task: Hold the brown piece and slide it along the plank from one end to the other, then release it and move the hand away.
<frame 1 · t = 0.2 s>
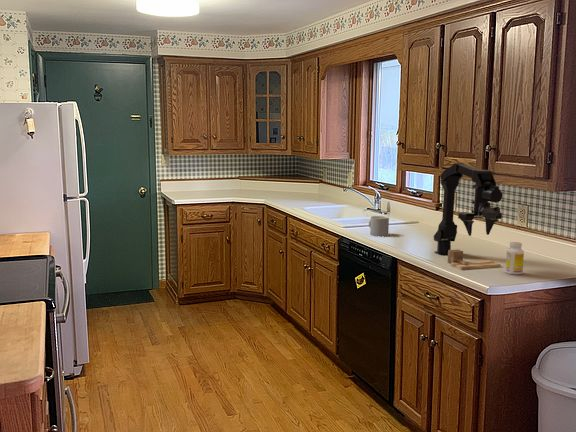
hand: (478, 235, 257), 14 cm above the worktop, tool pointing down, fingers open, 9 cm apart
plank: (475, 266, 260), on the worktop
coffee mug: (377, 234, 333), on the worktop
brown piece: (455, 263, 264), on the worktop
supplement bottle: (513, 273, 248), on the worktop
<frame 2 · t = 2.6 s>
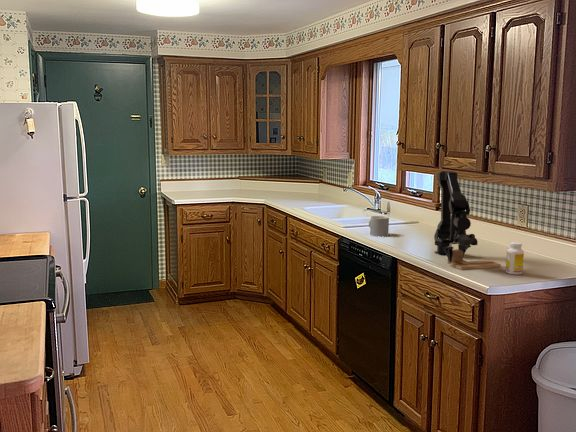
hand: (455, 261, 264), 1 cm above the worktop, tool pointing down, fingers closed on brown piece, 5 cm apart
brown piece: (455, 263, 264), on the worktop, touching gripper
everything else where it was.
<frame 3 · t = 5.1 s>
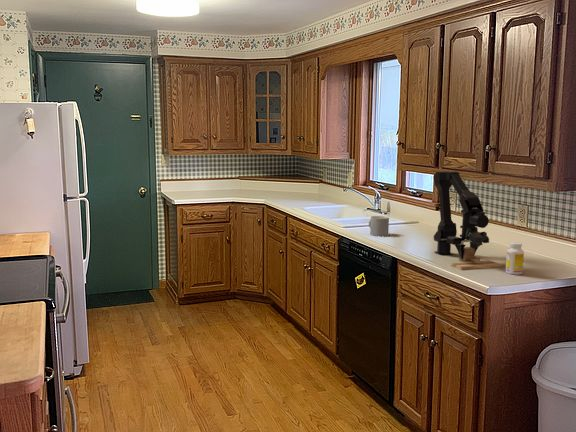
hand: (466, 258, 266), 2 cm above the worktop, tool pointing down, fingers closed on brown piece, 5 cm apart
brown piece: (466, 261, 266), point 1 cm above the worktop, touching gripper
everything else where it was.
when the fingers open (1 cm above the worktop, at t = 7.7 s): brown piece stays where it is, on the worktop.
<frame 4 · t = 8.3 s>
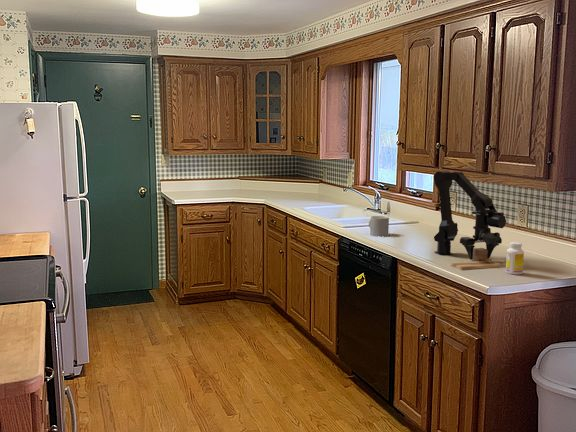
hand: (479, 259, 268), 1 cm above the worktop, tool pointing down, fingers open, 9 cm apart
brown piece: (479, 262, 268), on the worktop
everything else where it was.
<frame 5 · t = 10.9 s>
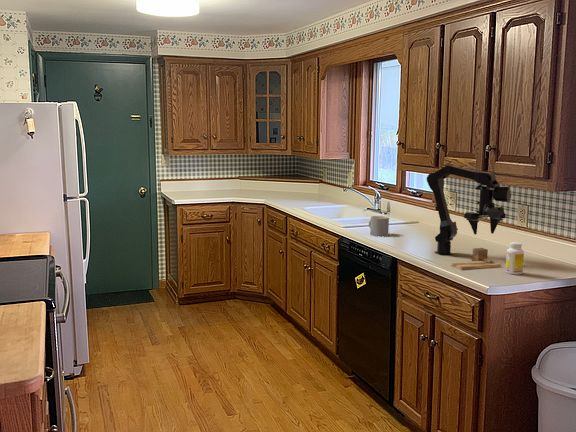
hand: (483, 233, 271), 12 cm above the worktop, tool pointing down, fingers open, 9 cm apart
nothing on the worktop moved.
at the end: brown piece 0.2 cm from the target spot, on the worktop; brown piece tilted 0°; the gripper is holding nothing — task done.
